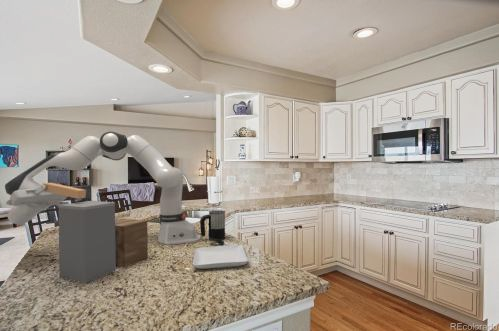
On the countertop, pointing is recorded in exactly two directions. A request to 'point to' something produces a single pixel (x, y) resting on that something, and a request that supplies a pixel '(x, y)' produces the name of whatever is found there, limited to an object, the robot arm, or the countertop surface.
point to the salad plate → (219, 257)
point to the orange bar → (66, 190)
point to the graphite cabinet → (86, 240)
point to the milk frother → (214, 226)
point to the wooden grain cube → (130, 241)
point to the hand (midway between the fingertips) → (51, 186)
